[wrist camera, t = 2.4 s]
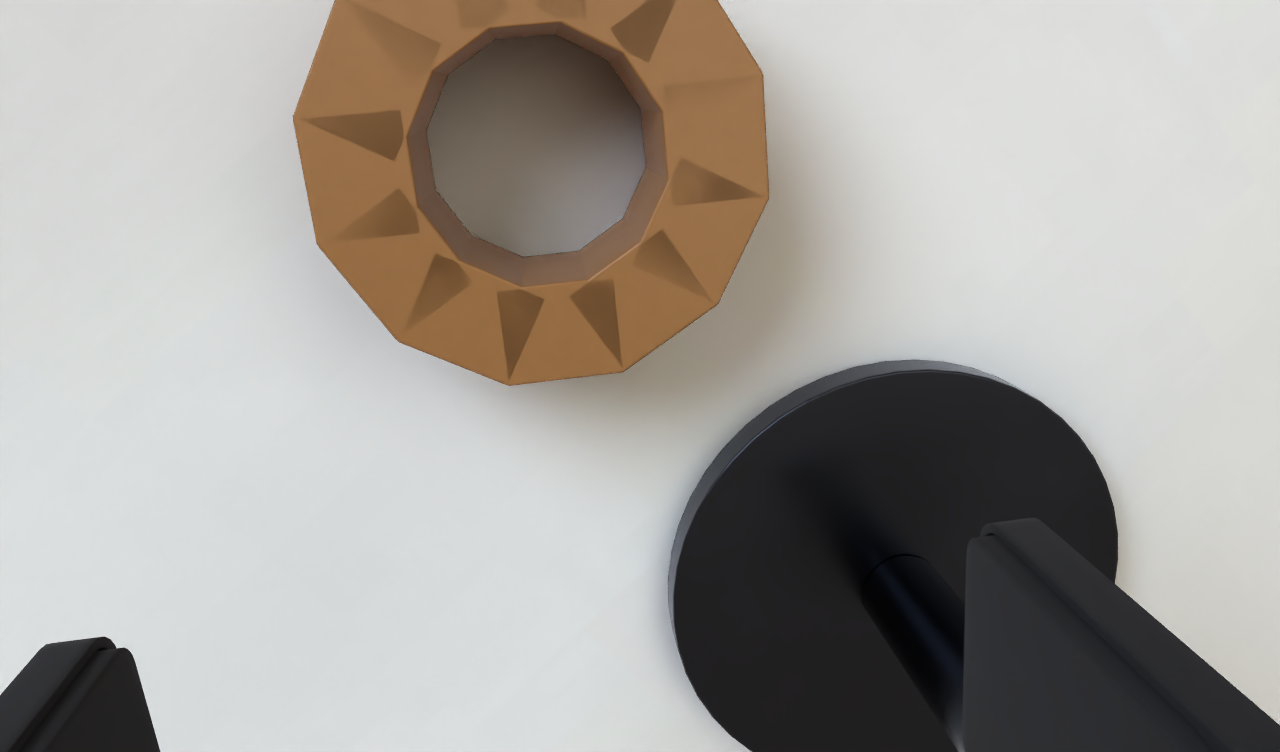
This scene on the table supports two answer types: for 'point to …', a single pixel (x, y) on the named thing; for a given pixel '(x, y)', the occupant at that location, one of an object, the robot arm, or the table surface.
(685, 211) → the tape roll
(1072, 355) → the table surface
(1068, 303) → the table surface
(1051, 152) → the table surface
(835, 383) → the stand
